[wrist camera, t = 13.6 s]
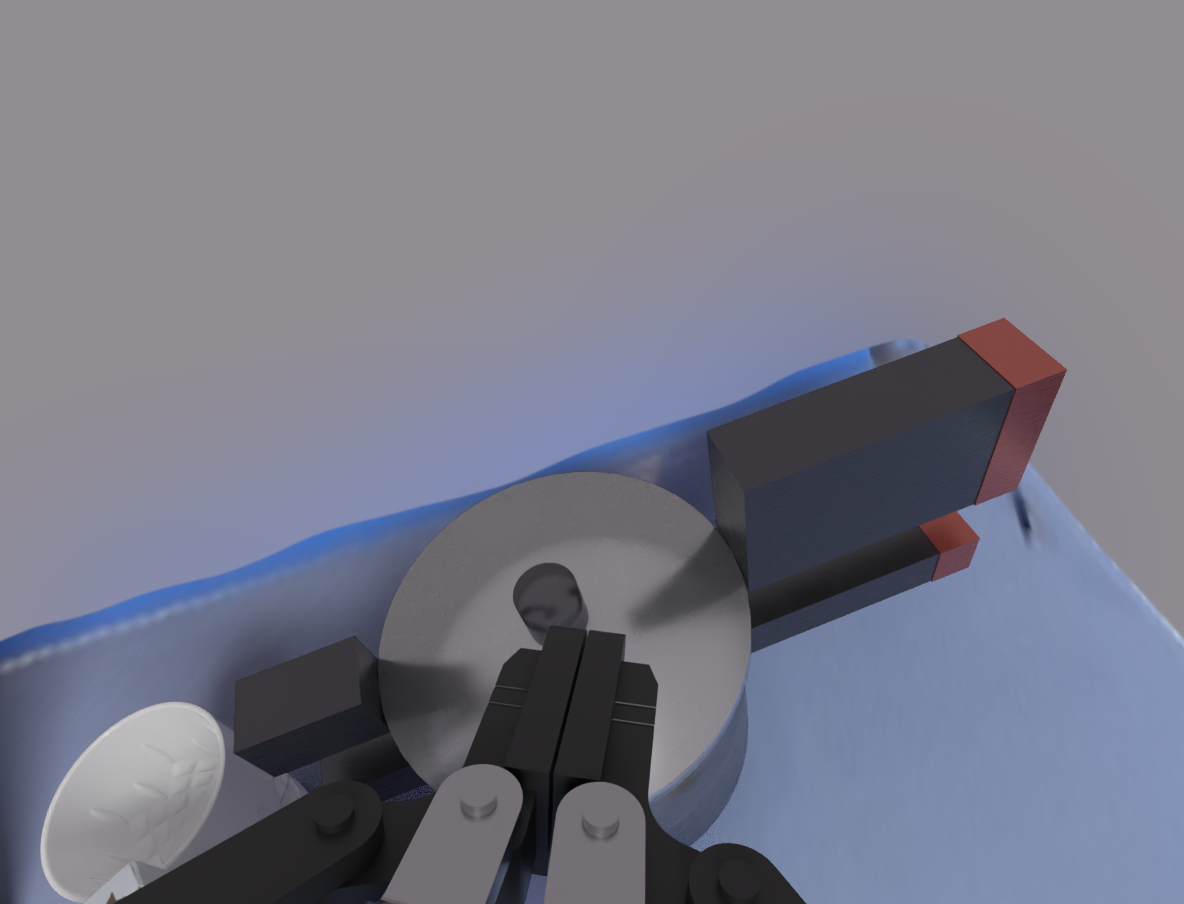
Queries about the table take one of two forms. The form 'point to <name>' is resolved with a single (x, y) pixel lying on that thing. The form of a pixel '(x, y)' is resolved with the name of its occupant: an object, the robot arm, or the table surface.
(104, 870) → the white cup
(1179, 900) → the table surface
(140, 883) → the supplement box
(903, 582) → the pot
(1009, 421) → the lid
